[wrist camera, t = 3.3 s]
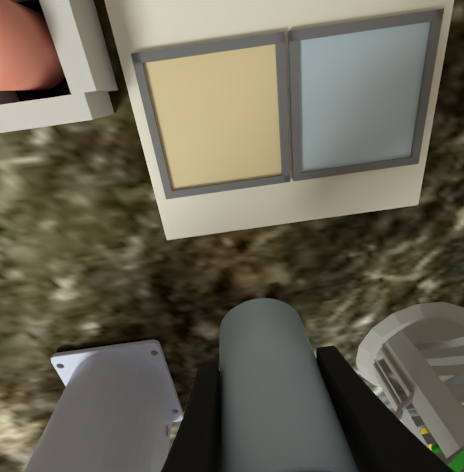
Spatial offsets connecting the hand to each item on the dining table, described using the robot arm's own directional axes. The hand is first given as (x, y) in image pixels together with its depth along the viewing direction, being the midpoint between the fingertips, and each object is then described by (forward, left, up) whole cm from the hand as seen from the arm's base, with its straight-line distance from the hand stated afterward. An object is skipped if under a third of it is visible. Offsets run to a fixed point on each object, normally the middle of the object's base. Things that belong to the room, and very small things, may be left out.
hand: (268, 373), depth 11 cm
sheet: (+8, -3, -9) cm, 12 cm away
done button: (+12, +8, -9) cm, 17 cm away
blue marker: (0, 0, -2) cm, 2 cm away
